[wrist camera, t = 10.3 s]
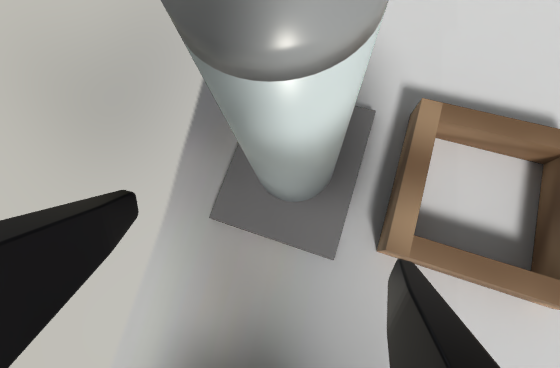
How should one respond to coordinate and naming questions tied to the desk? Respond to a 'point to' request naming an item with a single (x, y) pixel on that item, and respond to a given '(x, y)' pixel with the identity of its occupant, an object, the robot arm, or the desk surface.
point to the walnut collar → (492, 137)
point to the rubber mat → (296, 215)
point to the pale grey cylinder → (283, 79)
